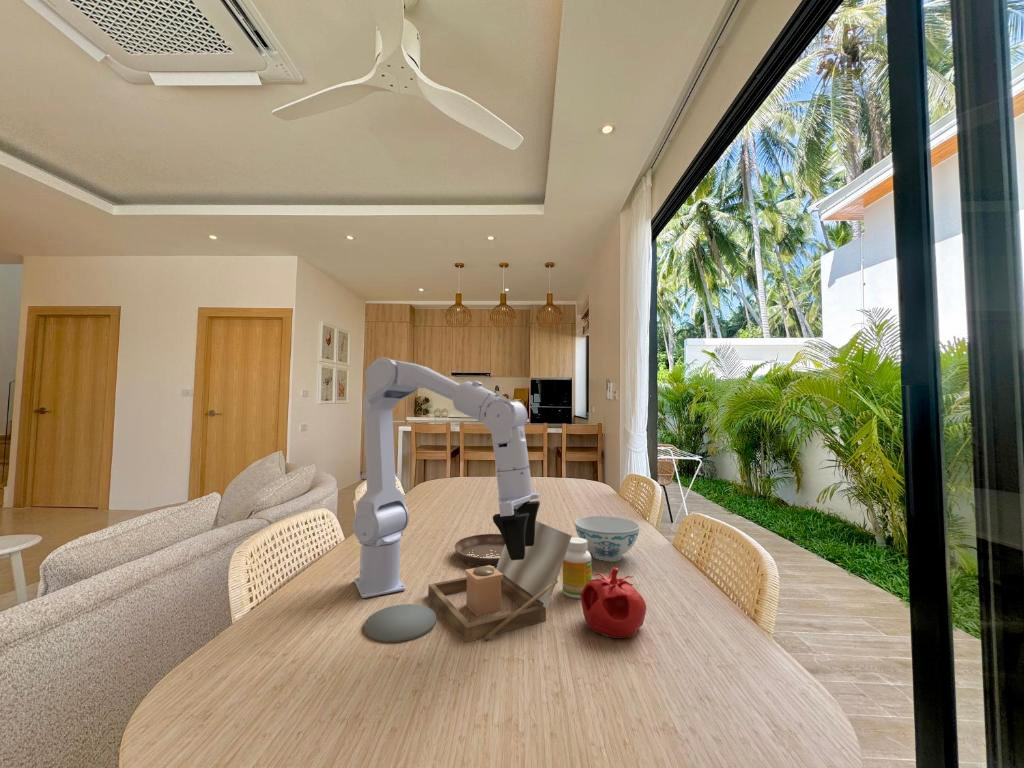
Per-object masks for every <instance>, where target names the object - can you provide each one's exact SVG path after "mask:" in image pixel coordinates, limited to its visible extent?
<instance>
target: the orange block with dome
mask: <svg viewBox="0 0 1024 768" xmlns="http://www.w3.org/2000/svg"><path fill="white" fill-rule="evenodd" d="M464 575H465V577H467V590H466V602H465V603H466V607H467V608H469V609H470V610H471V611H472V613H473V614H475V615H476V616H477V617H478V616H481V615H486V614H491V613H494V612H498V611H501V610H502V590H501V579H503V574H502V573H501V572H499V571H498V570H497V569H496V567H492V566H491V565H488V566H483V567H480V566H476V567H473V568H469V569H468V568H467V569H464Z"/></svg>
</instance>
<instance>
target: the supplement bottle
mask: <svg viewBox="0 0 1024 768" xmlns="http://www.w3.org/2000/svg"><path fill="white" fill-rule="evenodd" d="M592 574H593V573H592V555H591V553H590V551H589V550H588V549H587V540H586V539H583V538H579V536H577V537H571V540H570V543H569V545H568V548H567V551H566V554H565V557H564V560H563V563H562V592H563V594H564V595H565V596H567V597H569V598H572V599H581V593H582V590H583V588H584V587H585V585H586V583H587V582H589V581H590V580H592Z"/></svg>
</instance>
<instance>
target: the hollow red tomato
mask: <svg viewBox="0 0 1024 768" xmlns="http://www.w3.org/2000/svg"><path fill="white" fill-rule="evenodd" d="M618 573H619V567H614V566H613V567H612V568H611V570H610V573H609V575H608V577H607V576H606V575H604V574H603V573H595V574H594V576H600V578H595V579H594V578H593V579H592V580H590V581H589V582H587V583H586V585H585V587H584V588H583V590H582V593H581V598H580V600H581V601H580V602H581V607H582V608H581V609H582V615H583V616H584V620H585V623H586V624H587V626H588V627H589V628H590V629H592V631H594V632H597V633H598V634H602V635H603V636H607V637H608V638H613V639H621V638H625V639H626V638H632V637H634V636H635V635H636V634H637V631H638V630H639V628H641V627H642V626H643V624H644V621H645V616H646V611H647V604H646V601H645V599H644V598H643V596H642V595H641V594H640V593H639V592H638V590H637V589H636V588H635V587H634V586H633V583H630V582H629V581H627V580H626V579H628V578H634V576H635V575H632V576H631V575H626V576H625V577H620V578H618Z"/></svg>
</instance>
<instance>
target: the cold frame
mask: <svg viewBox="0 0 1024 768" xmlns="http://www.w3.org/2000/svg"><path fill="white" fill-rule="evenodd" d="M572 536H573V535H570V534H568V533H566V532H564V531H561V530H559V529H556V528H554V527H552V526H549V525H548V524H547V525H546V524H545V523H542V522H540V521H537V520H536V523H535V539H534V545H533V546H525V557H524V559H523V560H511V559H510V556H509V553H508V550H507V547H506V544H505V546H504V548H503V551H502V554H501V556H500V559H499V561H498V564H497V567H495V569H497V570H498V571H499V572H501V573H502V574H503V579H501V592H503V593H504V594H505V595H507V596H508V597H509V598H511V600H513V601H515V603H517V604H518V605H519V606H521V607H519V608H518V609H516V610H515V611H514V612H508V613H505V614H502V615H497V616H495V617H494V616H493V617H490V618H486V619H483V620H478V621H474V622H471V623H470V622H469V621H468V619H467V618H466V617H465V616H464V615H463V614H462V613H461V612H460V611H459V610H458V608H457V607H456V606H455V605H454V604H453V603H452V602H451V601H450V600H449V599H448V597H447V596H446V595H449V594H455V593H458V592H459V593H460V592H463V591H467V576H464V577H459V578H455V579H450V580H444V581H439V582H435V583H430V584H428V585H427V586H428V590H427V591H428V592H427V593H428V595H427V597H429V599H430V598H431V599H430V600H431V601H432V602H433V603H434V604H435V606H436V607H437V608H438V610H439V611H440V612H441V613H442V615H444V617H445V618H446V620H448V622H449V623H450V624H451V625H452V626H453V628H454V629H455V630H456V631H457V633H458V634H459V635H460V637H461V638H462V639H463V640H464V641H465V643H468V642H471V641H476V640H481V639H482V638H483V639H484V640H485V641H488V640H489V639H490V638H491V637H492V636H494V635H498V634H501V633H504V632H509V631H512V630H515V629H519V628H522V627H526V626H530V625H533V624H537V623H541V622H543V621H546V620H547V609H548V607H549V603H550V600H551V597H552V595H553V593H554V589H555V586H556V585H557V584H558V577H559V575H560V572H561V568H562V567H563V560H564V557H565V554H566V551H567V548H568V545H569V543H570V540H571V538H572Z"/></svg>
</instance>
